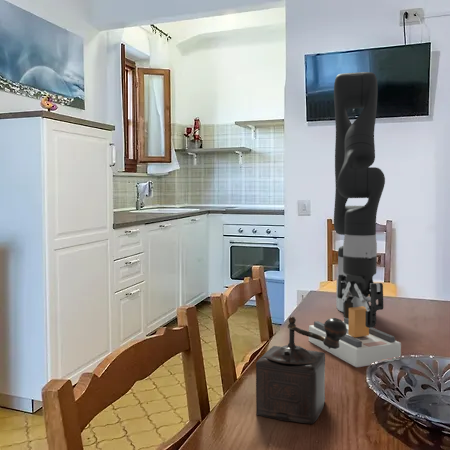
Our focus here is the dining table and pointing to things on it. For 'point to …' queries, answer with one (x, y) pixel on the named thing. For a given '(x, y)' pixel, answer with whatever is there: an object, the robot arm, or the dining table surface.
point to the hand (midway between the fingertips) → (358, 322)
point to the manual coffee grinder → (295, 376)
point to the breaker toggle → (357, 322)
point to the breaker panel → (360, 348)
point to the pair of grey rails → (354, 341)
